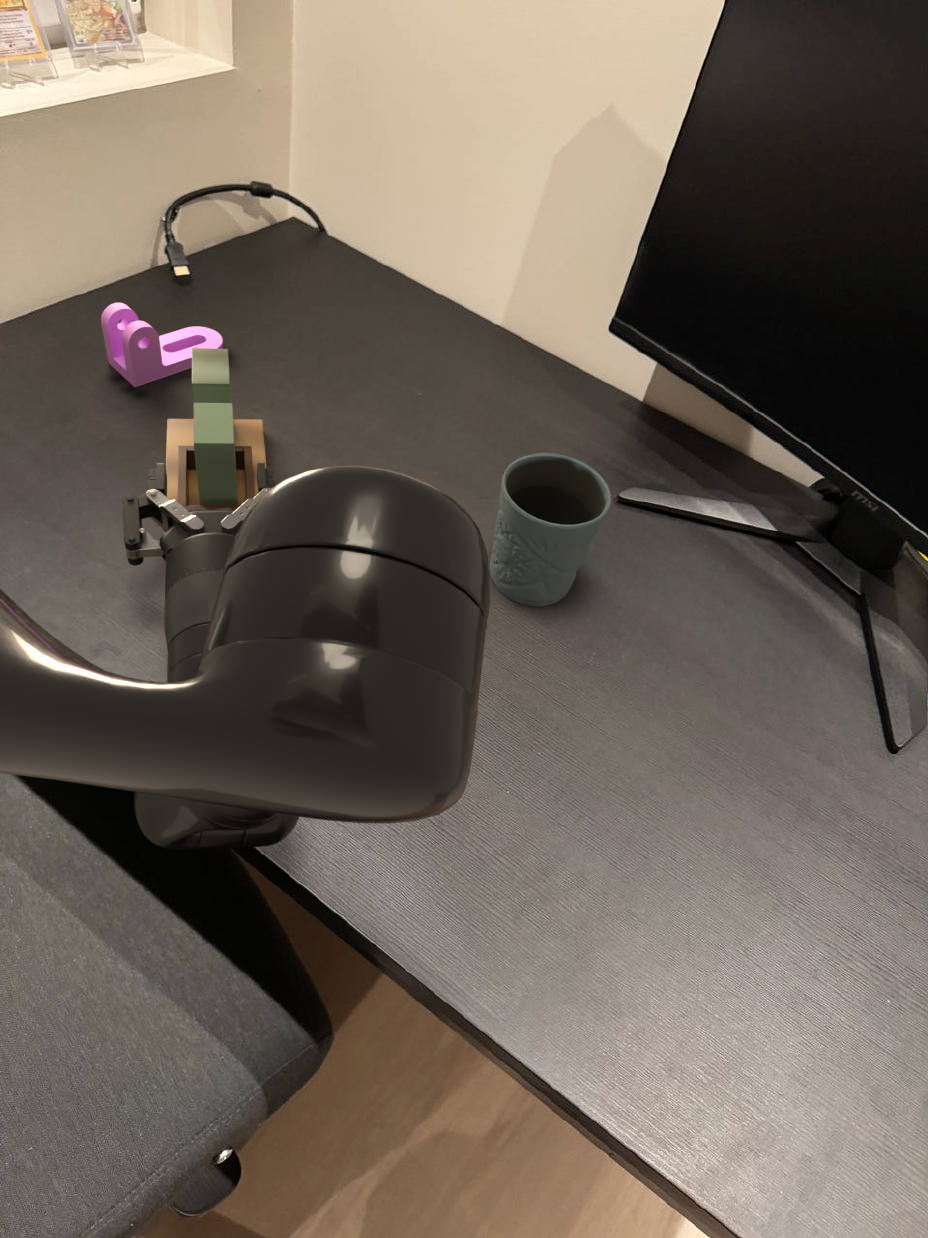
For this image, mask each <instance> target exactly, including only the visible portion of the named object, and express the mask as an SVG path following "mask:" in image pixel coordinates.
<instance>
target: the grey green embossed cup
mask: <svg viewBox="0 0 928 1238" xmlns="http://www.w3.org/2000/svg"><path fill="white" fill-rule="evenodd" d="M610 490H611V489H610V488H609V485H608V484H607V482H606V480H605V479H604V478H603V477H602V476H601V475H600V474H599V473H598V472H597V471H596V470H595V469H593V468H592V467H591V466H590V465H588V464H587V463H585V462H583V461H581V460H579V459H577V458H574V457H571V456H568V455H564V454H560V453H555V452H554V453H552V452H537V453H533V454H528V455H525V456H521V457H518V458H517V459H515V460H514V461H512V462H511V463H510V464H509V465H508V466H507V467H506V469H505V470H504V473H503V475H502V479H501V485H500V495H499V507H500V509H499V510H498V511H497V512H498V513H497V517H496V523H495V528H494V530H495V534H494V536H493V542H492V546H493V547H492V550H491V554H490V562H489V576H490V579H491V581H492V584H493V585H494V586H495V587H496V589H497V590H498V591H499V592H500V593H501V594H502V595H504V596H505V597H506V598H508V599H509V600H511V601H513V602H515V603H518V604H520V605H524V606H529V607H547V606H550V605H551V606H552V605H554V604H557V603H558V602H559V601H561V600H562V599H564V597H566V596H567V595H568V594H569V591H570V589H571V588H572V586H573V584H574V581H575V579H576V578H577V571H578V570H579V569H580V567H581V566H582V564H584V561H585V558H586V556H587V555H588V553H589V550H590V547H591V545H592V542H594V541H593V540H594V538H595V536H596V534H597V533H598V530H599V529H600V527H601V525H602V523H603V521H604V519H605V518H606V516H607V514H608V513H609V510H610V508H611V503H612V493H611V491H610Z"/></svg>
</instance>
